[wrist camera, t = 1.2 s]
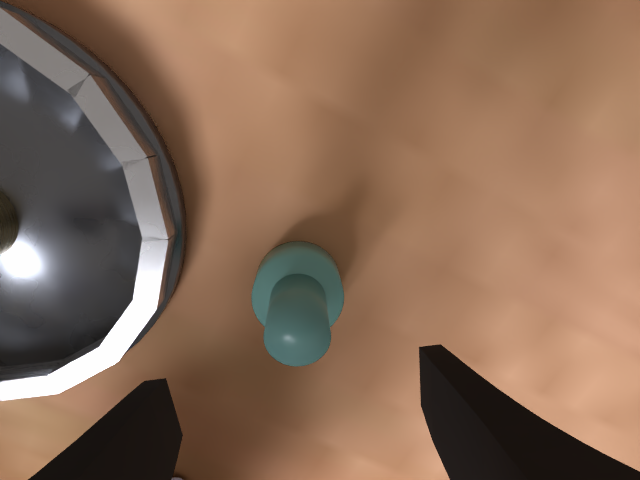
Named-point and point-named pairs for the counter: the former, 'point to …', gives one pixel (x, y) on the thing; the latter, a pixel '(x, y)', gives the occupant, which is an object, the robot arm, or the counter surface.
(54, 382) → the round metal bowl
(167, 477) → the robot arm
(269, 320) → the teal mushroom knob
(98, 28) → the counter surface
